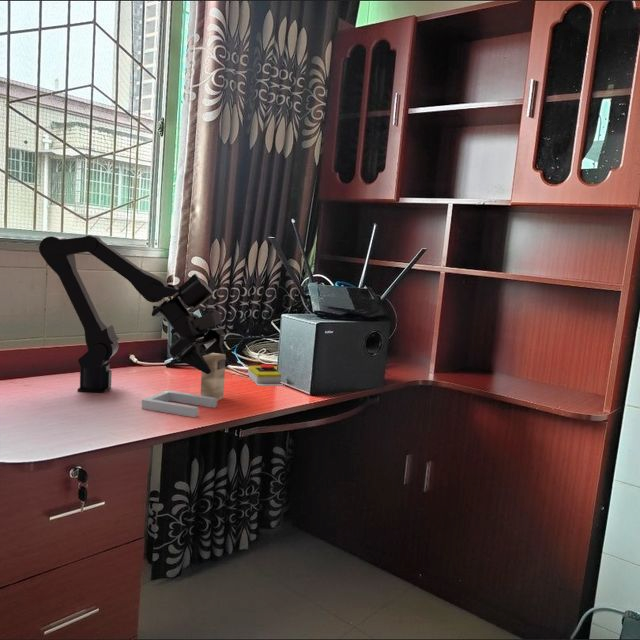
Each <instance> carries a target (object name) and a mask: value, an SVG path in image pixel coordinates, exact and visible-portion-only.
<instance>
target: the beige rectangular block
mask: <svg viewBox="0 0 640 640" xmlns="http://www.w3.org/2000/svg"><path fill="white" fill-rule="evenodd" d="M202 356H203V358H204V360H205V361H206V363H207V364H208V366H209V368H210V370H211V373H209V374H206V373H204V372H202V371H201V381H200V395H201V396H207V397H214V398H217V402H218V401H220V400H222V399H224V398H225V397H224V396H225V395H224V394H225V379H226V378H225V377H226V376H225V375H226V368H225V360H226V358H227V354H226V353H225V354H219V353H211V354H208V355H207V354H205V355H202Z"/></svg>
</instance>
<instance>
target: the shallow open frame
mask: <svg viewBox="0 0 640 640" xmlns="http://www.w3.org/2000/svg"><path fill="white" fill-rule="evenodd" d="M199 406H201V407H207V408H214V409H215V408H216V407H218V401H217V398H214V397H207V396H201V394H200V395H199V394H193V393H187V392H181V391H175V390H164V391H162V392H158V393H156V394H153V395H151V396H148V397H146V398H143V399H142V400H141V409H144V410H149V411H154V412H155V411H156V412H161V413H166V414H172V415H179V416H184V417H190V418H196V417H198V416H199Z"/></svg>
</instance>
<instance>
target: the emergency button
mask: <svg viewBox="0 0 640 640" xmlns="http://www.w3.org/2000/svg"><path fill="white" fill-rule="evenodd" d="M247 373H248V375H249V377H250V378H249V377H248V378H249V379H250V380H252V382H254V383H255V384H256V385H257V386H259V387H276V386H277V387H279V386H281V387H284V386H285V385H283V384H280V382H281V380H280V379H281V374H279V373H278V372H277V365H273V364H267V363H264V364H260V365H249V366H248V370H247Z"/></svg>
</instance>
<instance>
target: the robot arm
mask: <svg viewBox="0 0 640 640" xmlns="http://www.w3.org/2000/svg"><path fill="white" fill-rule="evenodd" d="M38 251H39V254H40V256H41V257H42V258H43V260H44V261H45V263H46V265H47V266H48V267H50V269H51V270H52V271H54V273H55V274H56V275H57V276H58V278H59V280H60V282H61V284H62V286H63V287H64V289H65V290H64V291H65V292H66V295H67V296H68V299H69V301H70V303H71V305H72V306H73V309H74V310H75V313H76V315H77V317H78V318H79V319H78V320H79V322H80V323H81V325H82V327H83V330H84V338H85V345H86V348H87V351H86V352H85V353H84V354H83V355H81V357H79V358H78V363H79V366H80V367H79V369H80V370H79V387H78V388H77V392H87V393H88V392H90V393H105V392H107V391H108V390H109V389H110V388H111V387H112V376H113V375H112V370H111V369H110V363H108V362H109V361H110V359H111V358H112V357H114V355H115V354H116V353H117V352H118V349H119V347H120V346H119V342H118V341H119V340H120V338H119V337H118V335H117V334H116V332H115V329H114V326H113V324H111V325H109V326H108V327H107V325H106V324H105V323H103V321H102V319H101V318H100V315H99V314H98V311H97V310H96V308H95V305H94V303H93V301H92V299H91V297H90V294H89V292H88V290H87V288H86V286H85V284H84V282H83V279H82V278H81V276H80V274H79V272H78V270H77V265H76V264H77V262H76V256H75V254H81V253H89V254H90V255H92V256H94V257H95V258H96V259H98V260H99V261H101V262H102V263H103V264H105V265H106V266H107V267H109V268H110V269H112V270H113V271H114V272H116V273H117V274H118V275H120V276H122V277H123V278H124V279H125V280H127V281H128V282H129V283H130V284H131V285H132V286H133V288H134V289H135V290H136V291H137V292H138V293H139V294H140V296H142V297H143V299H144V300H145V301H147V302H149V303H152V304H153V303H159V302H161V301H162V300H163V299H165V298H166V299H165V300H164V301H163V302H161V303H160V304H159V305H152V311H151V316H152V317H154V318H160V317H161V316H162V317H163V318H164V319H165V321H166V322H167V323H168V325H169V326H170V327H171V330H170V333H171V334H172V335H176V336H177V337H178V339H177V340H176V341H175V342H173V344H172V345H170V346H169V348H168V354H169V356H170V357H171V358H172V360H177V361H178V362H182V363H185V364H187V365H188V366H191V367H193V368H195V369H197V370H199V371H200V372H201V373H202V372H204V373H206V374H209V373H211V370H210V368H209V366H208V364H207V363H206V361H205V360H204V358H203V356H204V355H202V353H201V351H200V350H204V351H203V352H204V353H205V355H208V354H211V353H219V354H226V352H225V351H224V348H223V343H224V339H225V337H226V333H225V332H224V330H223V329H222V328H220V327H216V328H212V327H215V326H221V325H222V324H223V323H222V319H223V314H221V313H220V311H219V310H217V309H212V310H210V311H209V310H208V311H207V314H205V315H202V316H198V315H196V314H195V315H194V314H193V315H192V313H191V312H190V311H189V309H191V308H194V309H197V308H198V307H200V306H201V305H202V304H204V302H206V301H207V300H208V299H209V298H211V297H212V296H213V295H214V292H213V290H212V289H211V287H209V285H208V284H207V283H206V282H204V281H203V280H202V279H201V278H200V277H199V276H198V275H197V274H196V273H193V274H192V275H191V276H190V277H189V278H188V279H187V280H186V281H185V282H184V283H182V284H181V285H180V286H178V285H176V284H175V285H174V284H170V283H168V282H167V281H166V280H165V279H164V278H163V277H160V276H158V275H156V274H155V273H151V272H150V271H147V270H144V269H142V268H141V267H139V266H138V265H136V264H135V263H134V262H132V261H131V260H129V259H128V258H127V257H125V256H124V255H122V254H121V253H120V252H118V251H117V250H115V248H113V247H111V246H110V245H109V244H107V243H105V242H104V241H103V240H102V239H101V238H100V237H99V236H97V235H94V234H91V235H90V234H89V235H85V236H82V237H81V236H80V237H71V238H66V237H64V236H57V235H56V236H53V235H52V236H51V235H50V236H46V237H45V238H43V239H42V240H41V241H40V243H39V246H38ZM172 297H173V298H172ZM168 298H171V299H168ZM184 304H185V305H184ZM187 307H188V308H187ZM211 328H212V329H211ZM229 365H230V364H229V361H228V358H227V357H226V360H225V369H226V368H227V367H229Z"/></svg>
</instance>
